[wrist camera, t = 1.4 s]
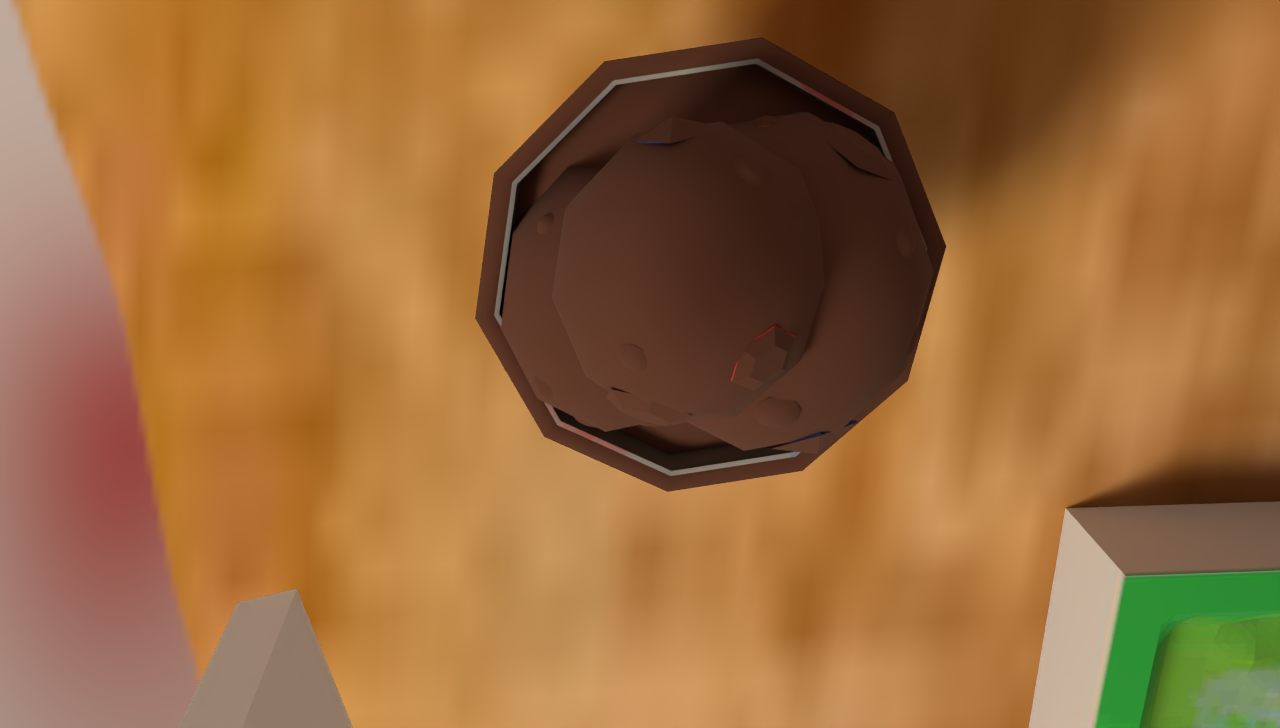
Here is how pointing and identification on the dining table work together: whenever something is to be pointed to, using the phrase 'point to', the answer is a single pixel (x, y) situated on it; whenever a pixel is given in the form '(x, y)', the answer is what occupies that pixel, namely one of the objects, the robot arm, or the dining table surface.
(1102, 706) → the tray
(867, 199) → the ice cream bowl
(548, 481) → the dining table surface
